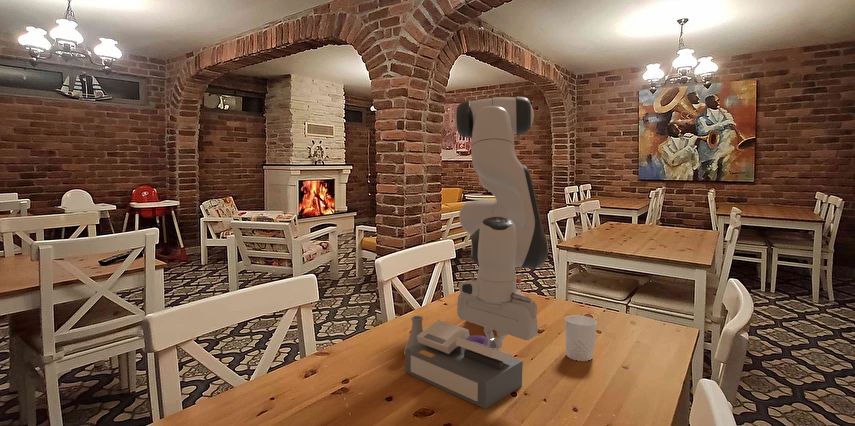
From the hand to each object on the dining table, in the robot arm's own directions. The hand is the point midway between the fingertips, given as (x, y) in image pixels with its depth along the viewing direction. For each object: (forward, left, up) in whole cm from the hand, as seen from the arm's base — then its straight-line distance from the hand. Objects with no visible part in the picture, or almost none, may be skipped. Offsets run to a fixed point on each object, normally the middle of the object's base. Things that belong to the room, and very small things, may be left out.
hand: (494, 346), depth 107 cm
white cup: (-28, +8, -9) cm, 30 cm away
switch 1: (+4, -12, 0) cm, 13 cm away
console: (+4, -6, -8) cm, 11 cm away
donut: (-11, -13, -9) cm, 19 cm away
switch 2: (+4, 0, 0) cm, 4 cm away
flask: (+1, -24, -9) cm, 26 cm away
